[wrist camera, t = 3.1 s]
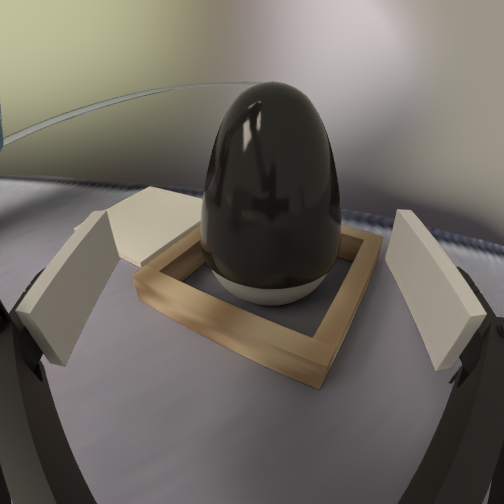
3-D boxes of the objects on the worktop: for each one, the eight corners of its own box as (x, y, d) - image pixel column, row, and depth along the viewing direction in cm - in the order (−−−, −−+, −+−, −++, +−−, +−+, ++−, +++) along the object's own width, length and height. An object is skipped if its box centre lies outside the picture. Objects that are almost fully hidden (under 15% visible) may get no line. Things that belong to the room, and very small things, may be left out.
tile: (75, 232, 32) (73, 228, 31) (150, 190, 41) (149, 186, 41) (141, 268, 26) (140, 262, 26) (224, 209, 35) (224, 204, 35)
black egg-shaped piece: (323, 246, 29) (339, 82, 20) (340, 329, 20) (383, 96, 12) (217, 243, 29) (207, 80, 21) (194, 324, 21) (161, 92, 12)
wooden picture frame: (139, 299, 23) (131, 275, 21) (241, 218, 33) (240, 197, 32) (319, 389, 16) (326, 366, 15) (377, 259, 27) (383, 236, 25)
